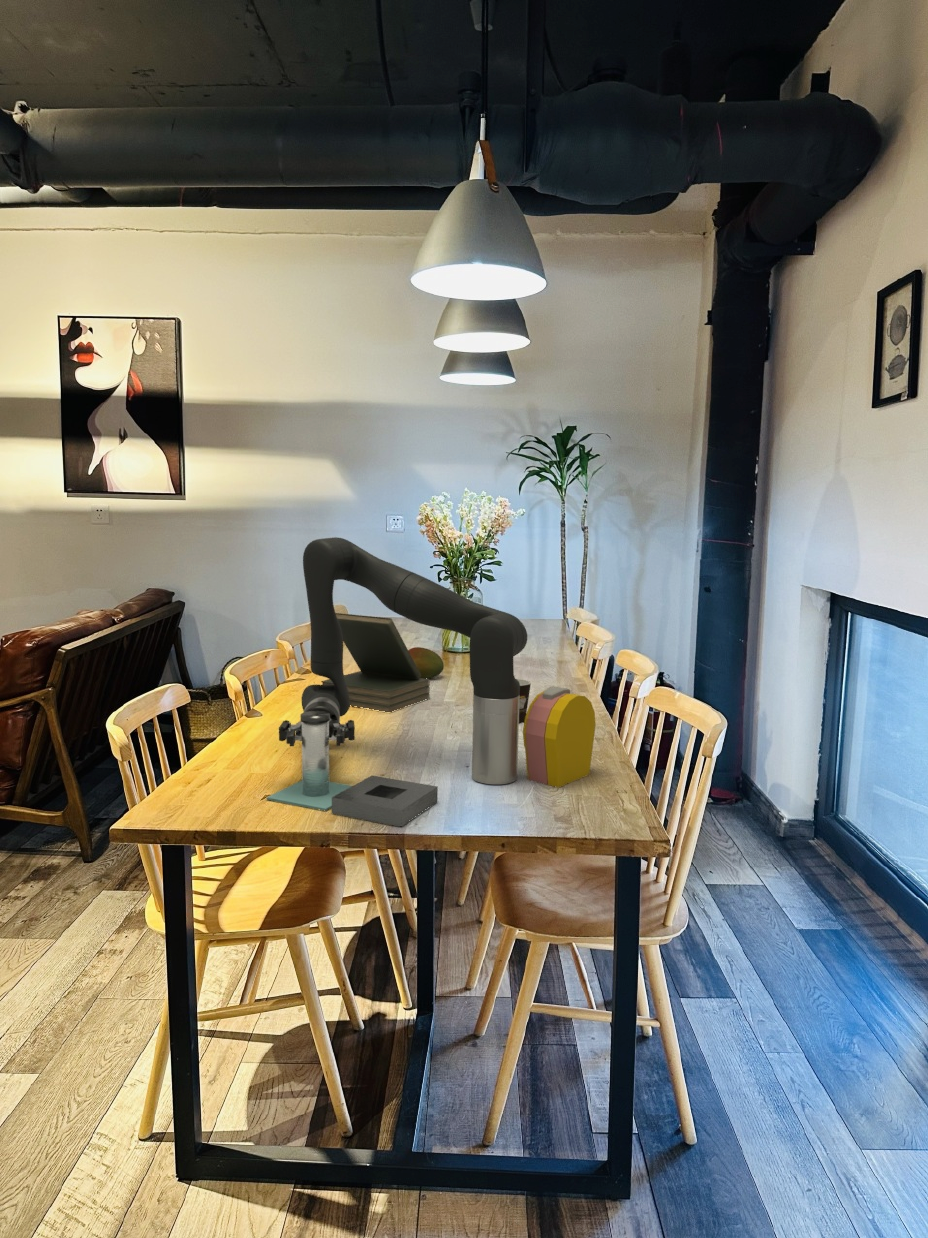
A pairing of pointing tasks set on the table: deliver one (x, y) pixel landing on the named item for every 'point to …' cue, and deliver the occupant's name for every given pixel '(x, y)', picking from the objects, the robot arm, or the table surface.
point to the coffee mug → (523, 698)
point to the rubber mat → (296, 796)
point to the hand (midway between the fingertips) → (315, 740)
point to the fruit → (427, 662)
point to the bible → (380, 665)
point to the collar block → (384, 800)
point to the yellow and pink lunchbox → (558, 737)
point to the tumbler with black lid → (315, 753)
